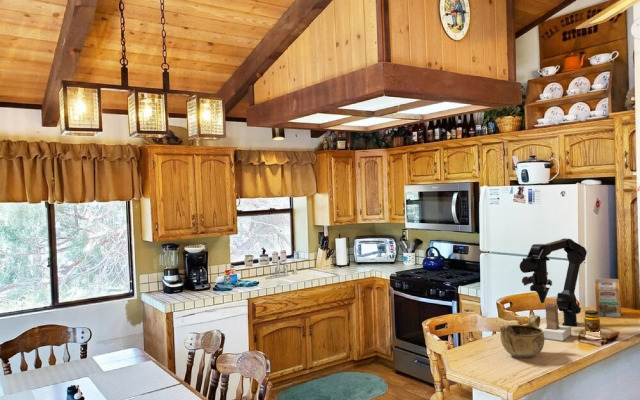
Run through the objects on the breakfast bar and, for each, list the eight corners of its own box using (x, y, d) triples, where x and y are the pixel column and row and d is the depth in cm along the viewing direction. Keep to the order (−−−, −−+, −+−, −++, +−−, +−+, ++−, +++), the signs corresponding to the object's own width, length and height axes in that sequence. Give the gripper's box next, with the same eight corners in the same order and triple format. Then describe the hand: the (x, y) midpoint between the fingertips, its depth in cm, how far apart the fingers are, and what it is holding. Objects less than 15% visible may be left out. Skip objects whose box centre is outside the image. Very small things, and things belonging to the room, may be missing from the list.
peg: (550, 333, 235) (548, 303, 235) (559, 334, 232) (557, 304, 232) (547, 335, 232) (545, 305, 232) (556, 337, 229) (554, 306, 229)
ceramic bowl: (522, 345, 221) (520, 311, 221) (558, 354, 207) (556, 317, 207) (488, 357, 209) (486, 320, 209) (524, 367, 195) (522, 328, 195)
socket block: (544, 332, 240) (543, 323, 240) (571, 335, 232) (570, 326, 232) (535, 338, 231) (534, 329, 231) (563, 341, 223) (562, 332, 223)
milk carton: (621, 313, 265) (619, 277, 265) (620, 318, 256) (618, 280, 256) (598, 312, 271) (596, 276, 271) (596, 317, 262) (594, 280, 262)
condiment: (593, 341, 222) (591, 313, 222) (577, 336, 230) (576, 310, 230) (606, 338, 224) (604, 311, 224) (590, 334, 232) (589, 308, 232)
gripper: (527, 267, 256) (529, 298, 256) (517, 273, 241) (519, 305, 241) (551, 268, 249) (553, 299, 249) (542, 273, 234) (545, 307, 234)
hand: (542, 303), depth 243 cm, fingers closed
